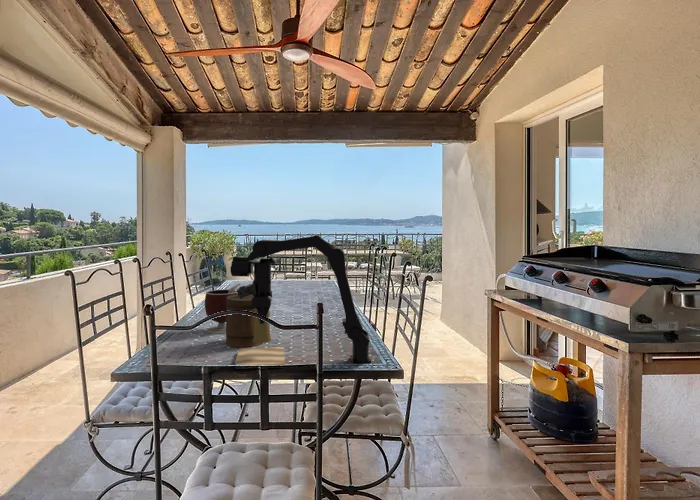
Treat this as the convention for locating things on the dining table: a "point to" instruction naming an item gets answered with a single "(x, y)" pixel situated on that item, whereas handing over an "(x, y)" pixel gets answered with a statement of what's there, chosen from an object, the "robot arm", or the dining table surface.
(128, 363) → the dining table surface
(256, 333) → the cork
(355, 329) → the robot arm
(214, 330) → the mate gourd
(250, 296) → the wooden container
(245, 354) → the serving board
